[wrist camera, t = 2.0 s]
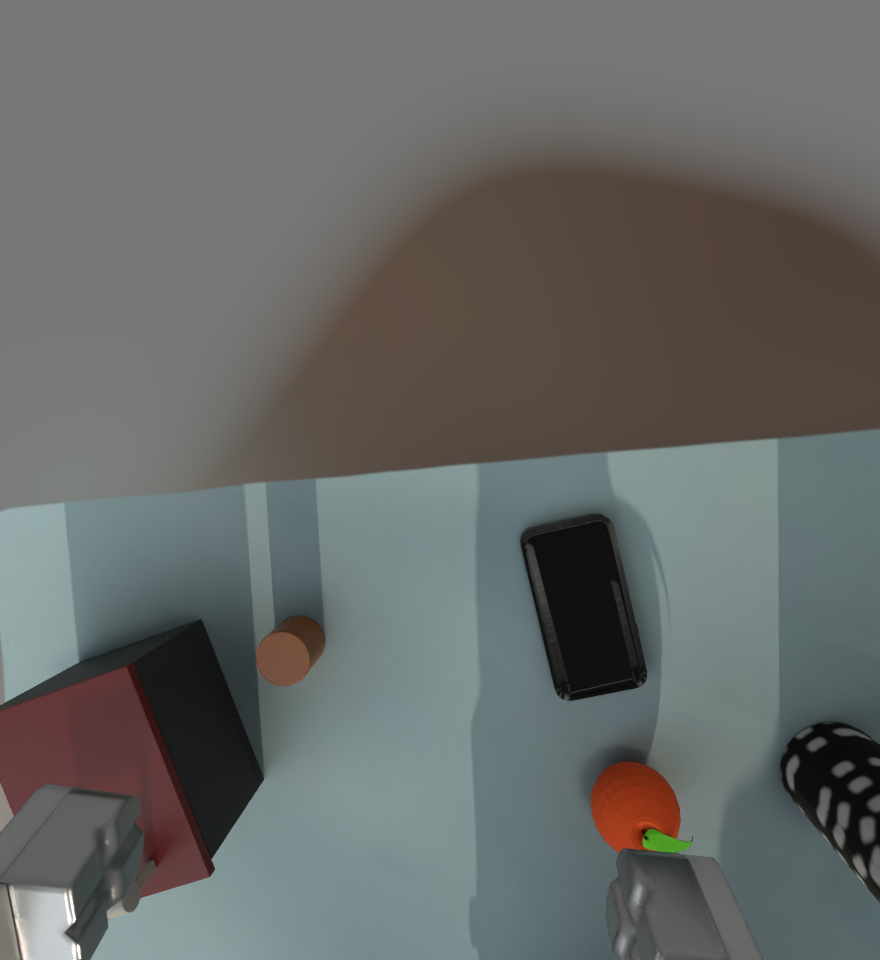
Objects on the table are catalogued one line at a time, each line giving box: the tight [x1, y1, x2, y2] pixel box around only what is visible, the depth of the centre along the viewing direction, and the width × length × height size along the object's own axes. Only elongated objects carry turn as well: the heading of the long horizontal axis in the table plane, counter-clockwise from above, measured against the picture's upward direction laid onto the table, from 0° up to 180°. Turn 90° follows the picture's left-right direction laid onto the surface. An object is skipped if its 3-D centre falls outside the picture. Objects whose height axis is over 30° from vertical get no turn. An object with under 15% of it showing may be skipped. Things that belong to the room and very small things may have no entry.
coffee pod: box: [256, 616, 325, 686], centre depth 49 cm, size 5×5×4 cm
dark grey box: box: [0, 619, 264, 859], centre depth 48 cm, size 16×13×10 cm
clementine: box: [591, 761, 693, 852], centre depth 46 cm, size 8×7×7 cm
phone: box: [520, 514, 647, 701], centre depth 48 cm, size 8×1×15 cm
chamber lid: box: [0, 662, 215, 919], centre depth 40 cm, size 17×13×5 cm
